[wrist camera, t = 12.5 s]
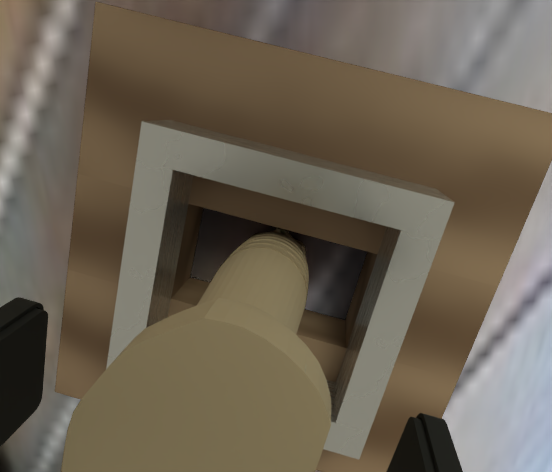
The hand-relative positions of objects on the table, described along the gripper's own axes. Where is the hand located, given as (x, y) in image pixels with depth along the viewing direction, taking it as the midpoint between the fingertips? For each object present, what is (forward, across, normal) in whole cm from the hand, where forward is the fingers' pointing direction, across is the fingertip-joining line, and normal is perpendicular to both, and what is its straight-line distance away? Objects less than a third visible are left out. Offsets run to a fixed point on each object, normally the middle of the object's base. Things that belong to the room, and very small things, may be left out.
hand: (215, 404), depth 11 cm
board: (+13, 0, +1) cm, 13 cm away
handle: (+13, 0, +1) cm, 13 cm away
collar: (+10, 0, +1) cm, 10 cm away
